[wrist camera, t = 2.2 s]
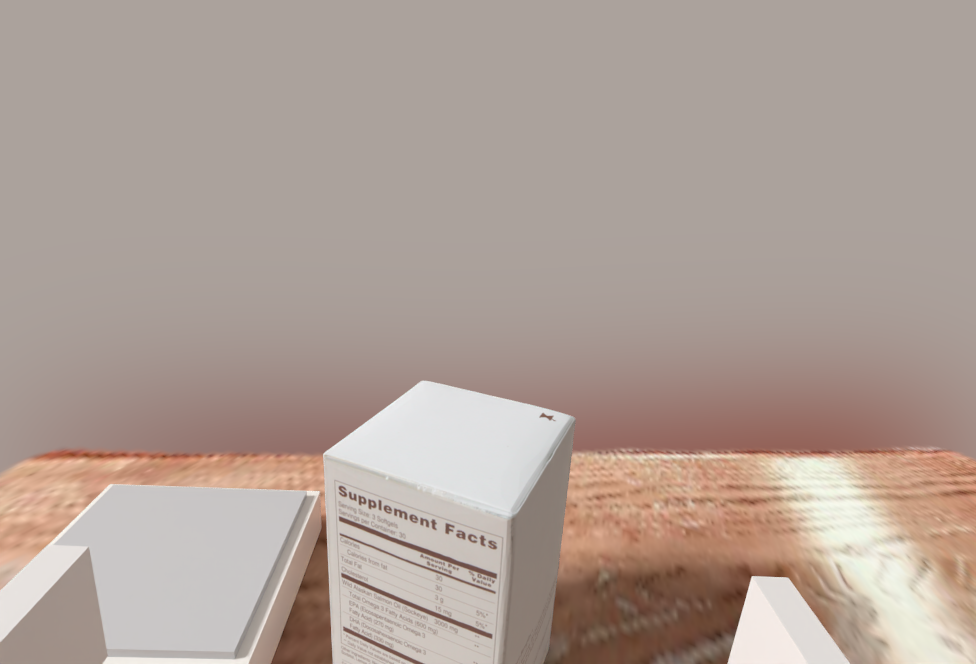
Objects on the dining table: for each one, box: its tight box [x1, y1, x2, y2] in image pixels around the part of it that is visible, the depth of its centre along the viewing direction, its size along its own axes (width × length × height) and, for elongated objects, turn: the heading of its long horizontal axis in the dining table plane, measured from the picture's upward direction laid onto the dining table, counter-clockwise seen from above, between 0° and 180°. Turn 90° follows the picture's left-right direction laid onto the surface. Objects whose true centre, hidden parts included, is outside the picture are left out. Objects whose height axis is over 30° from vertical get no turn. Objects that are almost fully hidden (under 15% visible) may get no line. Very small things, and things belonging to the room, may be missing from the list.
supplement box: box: [323, 381, 576, 664], centre depth 24 cm, size 7×7×13 cm
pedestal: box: [49, 484, 322, 664], centre depth 28 cm, size 12×12×3 cm
